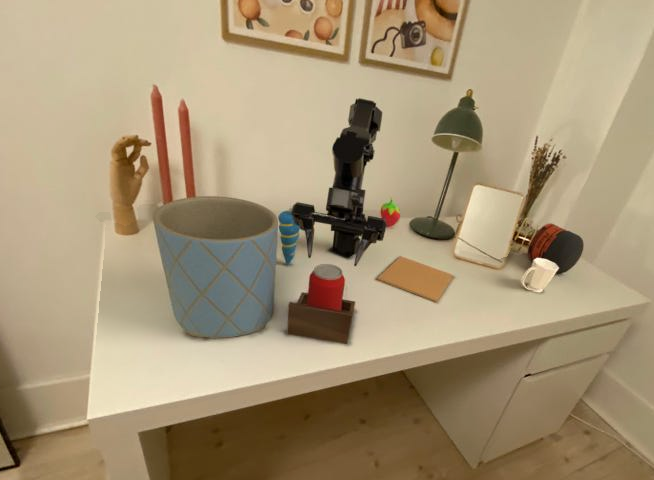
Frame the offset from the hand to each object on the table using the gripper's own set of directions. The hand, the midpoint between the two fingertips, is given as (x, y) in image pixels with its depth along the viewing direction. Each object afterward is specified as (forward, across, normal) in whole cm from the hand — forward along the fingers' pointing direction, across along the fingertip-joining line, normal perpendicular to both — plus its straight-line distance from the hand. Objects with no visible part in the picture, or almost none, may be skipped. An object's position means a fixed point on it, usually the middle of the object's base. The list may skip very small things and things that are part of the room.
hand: (332, 261), depth 75 cm
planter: (+14, -19, +3) cm, 23 cm away
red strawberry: (-33, +11, +42) cm, 54 cm away
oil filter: (-23, +65, +39) cm, 79 cm away
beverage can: (+12, 0, +5) cm, 13 cm away
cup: (-11, +54, +27) cm, 61 cm away
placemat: (-7, +20, +23) cm, 31 cm away
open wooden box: (+12, 0, +5) cm, 12 cm away
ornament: (-3, -12, +20) cm, 23 cm away
